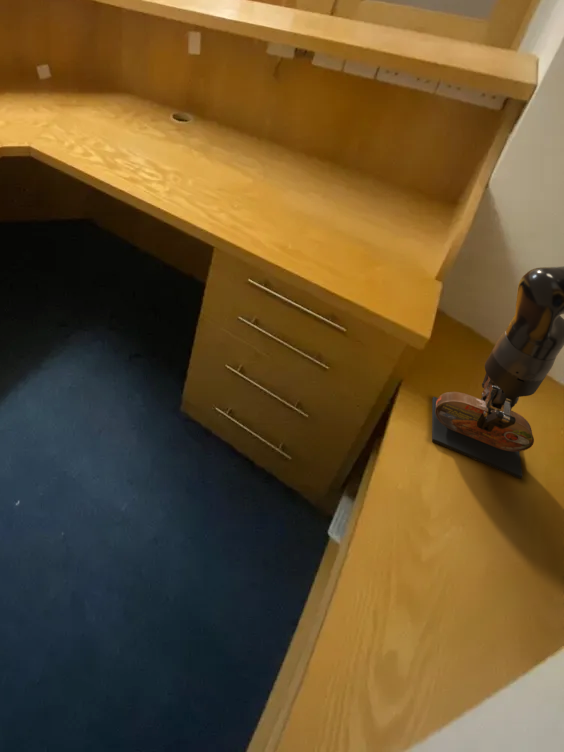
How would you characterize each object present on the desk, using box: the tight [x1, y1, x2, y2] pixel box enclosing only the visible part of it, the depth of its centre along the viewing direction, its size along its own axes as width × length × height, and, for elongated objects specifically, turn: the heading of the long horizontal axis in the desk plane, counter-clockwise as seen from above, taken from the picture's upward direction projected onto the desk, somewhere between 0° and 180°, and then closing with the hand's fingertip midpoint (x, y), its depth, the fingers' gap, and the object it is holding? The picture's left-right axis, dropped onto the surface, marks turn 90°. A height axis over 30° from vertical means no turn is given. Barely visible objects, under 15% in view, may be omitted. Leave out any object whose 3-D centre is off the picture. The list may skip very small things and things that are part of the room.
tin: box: [435, 391, 535, 452], centre depth 94 cm, size 15×3×8 cm, turn 61°
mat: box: [431, 396, 523, 479], centre depth 97 cm, size 14×10×1 cm
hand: (482, 420), depth 94 cm, fingers closed on tin, 2 cm apart
